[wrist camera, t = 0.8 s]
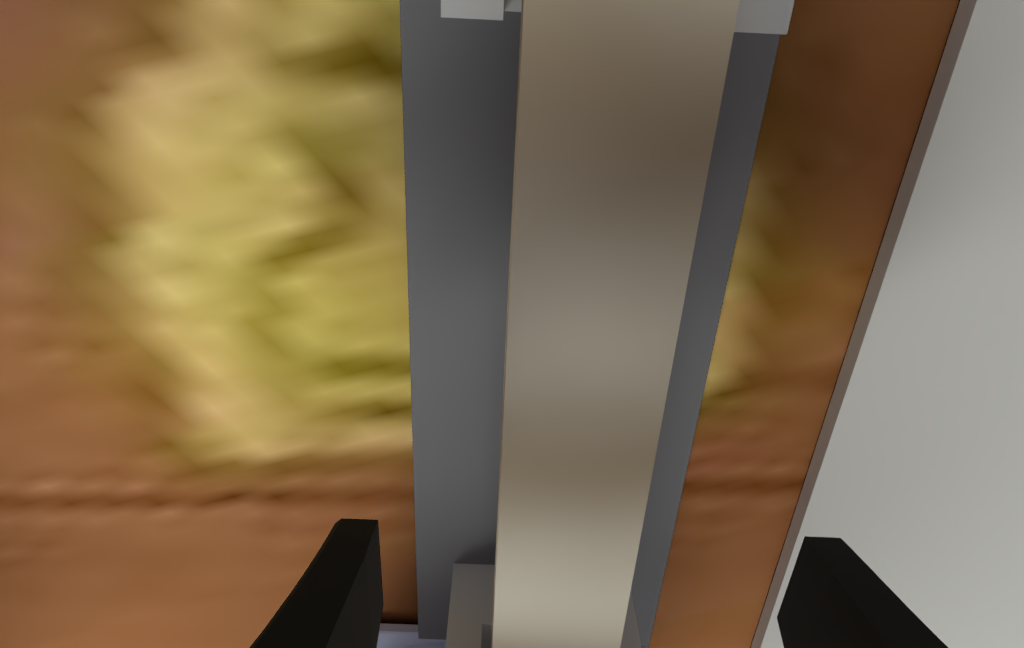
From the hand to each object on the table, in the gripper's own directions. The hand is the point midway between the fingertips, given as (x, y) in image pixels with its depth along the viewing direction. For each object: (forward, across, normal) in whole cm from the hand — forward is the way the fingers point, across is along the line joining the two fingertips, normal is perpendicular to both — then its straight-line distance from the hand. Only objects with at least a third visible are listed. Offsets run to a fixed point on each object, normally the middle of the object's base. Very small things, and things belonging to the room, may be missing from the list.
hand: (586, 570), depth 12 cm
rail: (+5, 0, 0) cm, 5 cm away
